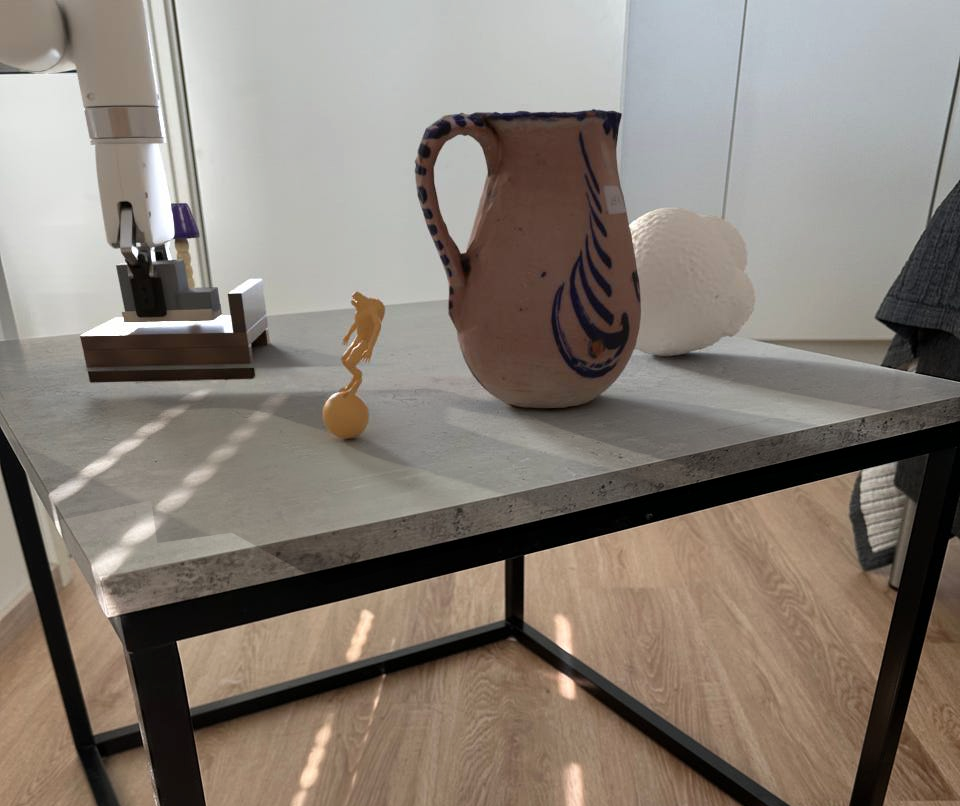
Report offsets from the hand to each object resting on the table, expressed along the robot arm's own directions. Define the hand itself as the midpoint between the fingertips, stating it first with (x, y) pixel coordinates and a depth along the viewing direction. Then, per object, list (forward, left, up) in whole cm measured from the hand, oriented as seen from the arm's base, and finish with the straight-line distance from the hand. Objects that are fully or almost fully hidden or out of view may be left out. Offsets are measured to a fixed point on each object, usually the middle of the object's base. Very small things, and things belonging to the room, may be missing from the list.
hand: (158, 311), depth 104 cm
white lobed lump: (+59, +3, -7) cm, 59 cm away
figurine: (+25, -30, -7) cm, 40 cm away
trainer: (+2, 0, -1) cm, 2 cm away
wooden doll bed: (+2, 0, -7) cm, 7 cm away
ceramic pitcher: (+41, -19, -7) cm, 46 cm away
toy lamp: (-1, +18, -7) cm, 19 cm away
